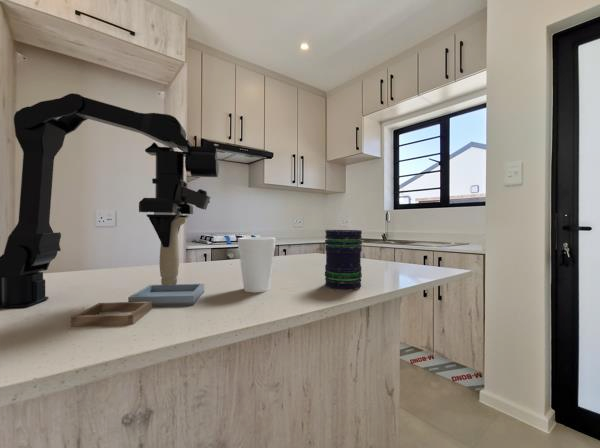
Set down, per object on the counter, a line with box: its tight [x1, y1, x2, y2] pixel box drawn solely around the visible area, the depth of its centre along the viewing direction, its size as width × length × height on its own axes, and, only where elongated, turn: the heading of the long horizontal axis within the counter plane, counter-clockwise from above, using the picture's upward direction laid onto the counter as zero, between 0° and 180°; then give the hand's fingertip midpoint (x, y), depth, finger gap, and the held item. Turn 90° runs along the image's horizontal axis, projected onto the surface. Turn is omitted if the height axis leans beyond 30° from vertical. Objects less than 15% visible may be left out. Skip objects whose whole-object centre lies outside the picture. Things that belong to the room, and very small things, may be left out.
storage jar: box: [324, 229, 363, 291], centre depth 81 cm, size 10×10×15 cm
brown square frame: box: [70, 301, 153, 327], centre depth 54 cm, size 10×9×2 cm
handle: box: [159, 217, 186, 286], centre depth 67 cm, size 5×6×15 cm
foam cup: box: [237, 236, 277, 293], centre depth 76 cm, size 10×9×13 cm
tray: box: [127, 283, 205, 307], centre depth 67 cm, size 13×12×2 cm
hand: (169, 246), depth 67 cm, fingers closed on handle, 4 cm apart
